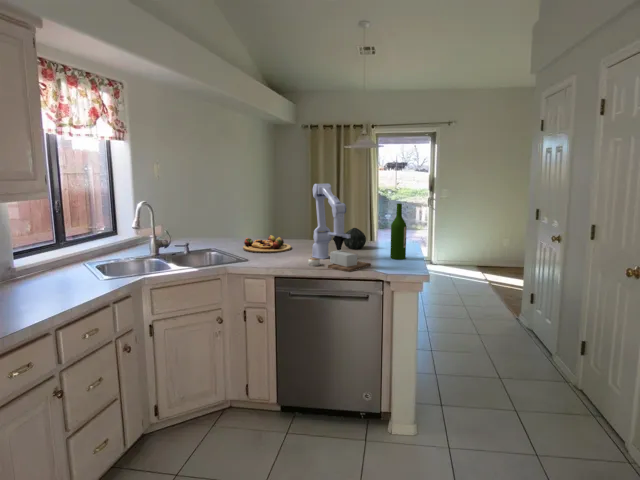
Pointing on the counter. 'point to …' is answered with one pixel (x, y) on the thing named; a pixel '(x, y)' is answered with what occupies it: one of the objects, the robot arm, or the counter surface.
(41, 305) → the counter surface
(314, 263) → the ramekin
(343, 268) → the cutting board
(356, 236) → the squash
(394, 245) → the wine bottle
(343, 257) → the small box
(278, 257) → the counter surface
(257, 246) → the wooden plate with food
